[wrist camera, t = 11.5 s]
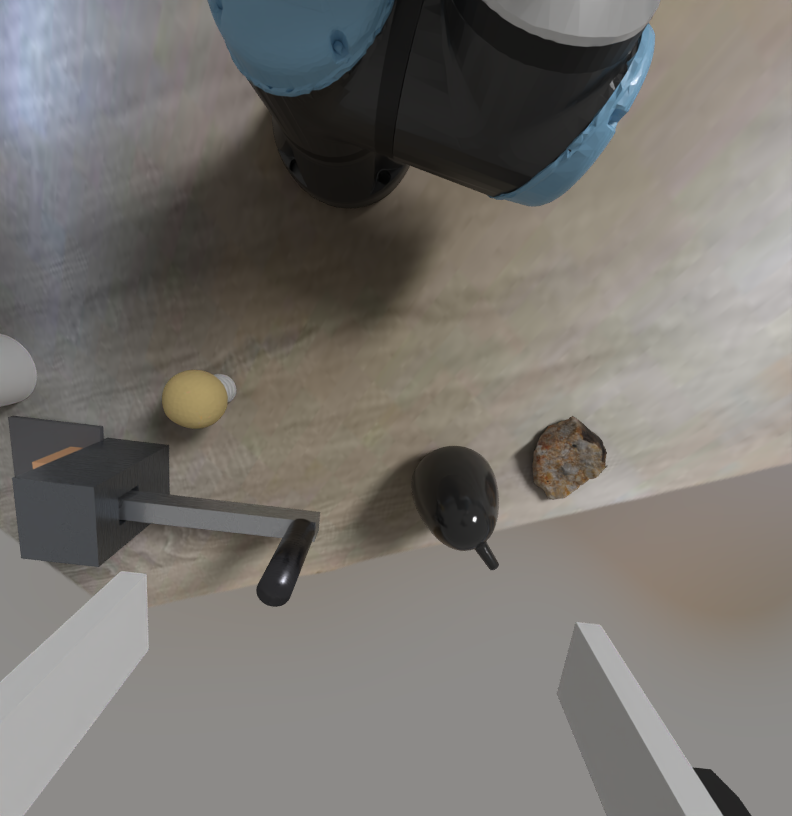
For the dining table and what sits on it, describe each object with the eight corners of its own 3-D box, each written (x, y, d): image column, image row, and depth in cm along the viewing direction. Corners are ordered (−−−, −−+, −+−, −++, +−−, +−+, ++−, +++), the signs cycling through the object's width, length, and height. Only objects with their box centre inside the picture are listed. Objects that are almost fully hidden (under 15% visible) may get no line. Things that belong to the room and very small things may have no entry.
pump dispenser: (440, 523, 54) (454, 602, 39) (395, 465, 52) (393, 525, 37) (503, 483, 52) (544, 549, 38) (460, 421, 51) (484, 465, 36)
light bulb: (194, 405, 51) (145, 426, 41) (202, 356, 49) (153, 367, 39) (244, 417, 51) (206, 442, 41) (253, 370, 49) (216, 383, 40)
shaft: (70, 480, 46) (-48, 540, 34) (320, 509, 46) (291, 578, 34) (72, 504, 46) (-44, 571, 34) (318, 532, 47) (289, 608, 35)
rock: (555, 405, 50) (509, 470, 50) (590, 417, 45) (539, 489, 45) (594, 440, 54) (551, 500, 54) (631, 454, 48) (583, 522, 48)
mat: (12, 415, 51) (8, 417, 51) (102, 426, 51) (99, 427, 51) (21, 500, 54) (17, 502, 53) (107, 510, 54) (104, 512, 54)
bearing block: (107, 437, 52) (12, 478, 39) (168, 445, 52) (93, 487, 39) (110, 500, 54) (21, 558, 41) (169, 507, 54) (98, 566, 41)
